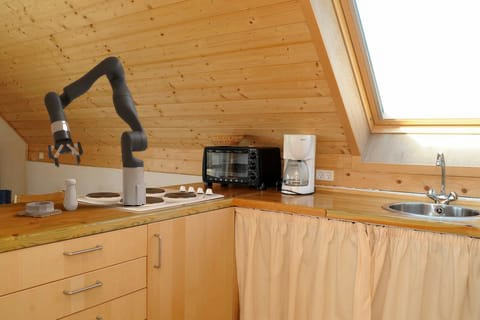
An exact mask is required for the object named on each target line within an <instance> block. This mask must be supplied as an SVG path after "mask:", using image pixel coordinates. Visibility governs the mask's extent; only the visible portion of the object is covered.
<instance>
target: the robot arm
mask: <svg viewBox="0 0 480 320" xmlns="http://www.w3.org/2000/svg"><path fill="white" fill-rule="evenodd" d="M125 73H126V72H125V69H124V67H123V64H122V62H121V60H120V59H119V58H118V57H117V56H107V57H105V58H104V59H103V60H101V61H100V62H99V63H98V64H96V65H95V66H93V68H91V69H90V70H89V71H88V72H87V73H85V74H83V76H81V77H80V78H78V79H76V80H75V81H72V82H71V83H69V84H67V85H65V86H64V87H63V88H62V93H60V94H58V93H57V92H55V91H49V92H47V93H46V94H45V95H44V98H43V101H44V106H45V108H46V112H47V114H48V117H49V121H50V122H49V123H50V127H51V133H52V138H53V144H54V145H51V144H48V145H47V154H48V155H47V156H48V159H49V160H53V162H54V166H55V167H57V168H59V167H60V163H59V162H60V161H59V159H58V157H59V156H60V155H65V154H69V155H70V154H72V156H74V157H75V161H76V164H77V166H78V165H80V164H81V157H82V156H83V154H84V150H83V147H82V143H81V142H80V141H77V142H76V143H74V142H73V139H72V134H71V129H70V126H69V124H68V119H67V116H66V113H65V111H64V110H65V109H66V108H67V107H68V106H69V105H70V104H72V102H74V100H76V99H78V98H79V97H81V96H83V95H84V94H85V93H87V92H88V91H90V89H91V88H92V86H93V85H94V84H95V83H96V81H98V80H99V79H100V78H102V77H103V76H105V77H106V79H107V80H108V82H109V84H110V87H111V89H112V97H111V98H112V105H113V107H114V110H115V112H116V115H117V116H118V117H119V118H120V119H121V120H122V121H124V123H126V124H127V125H128V126H129V128H130V129H131V130H129V131H128V130H127V131H123V132H122V134H121V136H120V150H121V151H120V152H121V162H122V205H123V206H124V205H141V206H143V205H142V204H144V205H146V203H147V198H146V197H147V194H146V193H147V192H146V190H147V189H146V187H147V186H146V185H147V184H146V183H145V180H144V179H145V177H144V176H145V175H144V172H145V168H144V167H145V166H144V165H145V162H144V160H142V159H140V158H137V157H135V156H134V154H133V153H137V152H139V153H140V152H145V151H146V150H147V148H148V145H149V144H148V141H149V140H148V137H147V134H146V132H145V129H144V127H143V125H142V122H141V120H140V117H139V114H138V112H137V108H136V105H135V101H134V98H133V96H132V94H131V93H132V92H131V91H130V89H129V88H128V84H127V79H126V74H125ZM74 147H75V148H76V149H77V150H78V151H77V150H76V149H75V148H74ZM53 150H56V152H55V154H54V155H53Z"/></svg>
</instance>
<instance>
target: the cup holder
mask: <svg viewBox="0 0 480 320" xmlns="http://www.w3.org/2000/svg"><path fill="white" fill-rule="evenodd" d="M54 207H55V203H54V201H43V200H42V201H33V202H27V203H26V204H25V209H24V210H21V211H18V212H17V214H18V216H22V215H25V216H24V217H30V216H33V218H38V217H42V218H45V216H46V217H51V216H53V215H59V214H62V210H61V209H55V208H54ZM50 215H51V216H50Z"/></svg>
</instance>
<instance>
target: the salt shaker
mask: <svg viewBox="0 0 480 320" xmlns="http://www.w3.org/2000/svg"><path fill="white" fill-rule="evenodd" d="M76 184H77V181H76V179H75V178H66V179H65V180H64V185H65V186H66V187H65V193H64V198H63V199H64V200H63V203H62V204H63V208H64V209H65V211H76V210H77V208H78V206H79V200H78V196H77V191H76V186H75V185H76Z"/></svg>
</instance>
